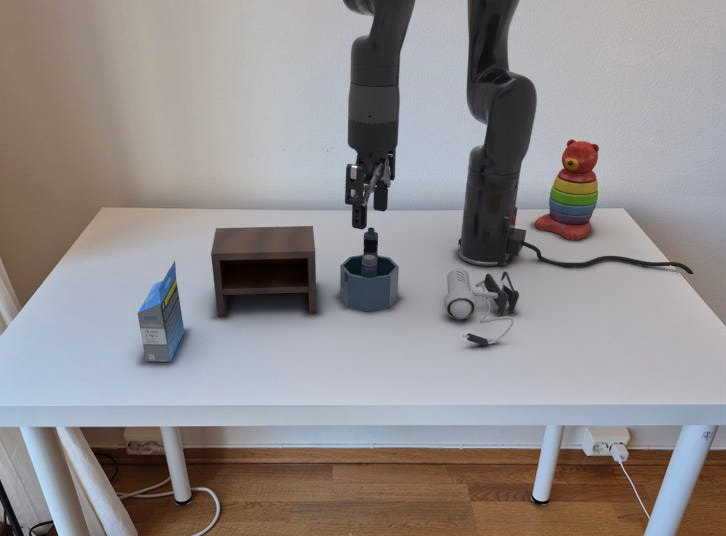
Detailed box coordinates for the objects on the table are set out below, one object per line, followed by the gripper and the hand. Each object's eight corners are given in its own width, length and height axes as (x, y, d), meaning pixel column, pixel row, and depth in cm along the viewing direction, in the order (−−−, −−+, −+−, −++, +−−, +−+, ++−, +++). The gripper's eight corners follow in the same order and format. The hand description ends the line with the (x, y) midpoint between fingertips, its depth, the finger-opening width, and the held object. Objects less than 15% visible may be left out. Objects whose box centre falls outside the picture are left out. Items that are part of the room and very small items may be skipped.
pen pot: (402, 292, 122) (404, 260, 118) (383, 315, 115) (384, 282, 111) (355, 281, 125) (355, 250, 121) (333, 304, 118) (333, 271, 114)
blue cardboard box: (160, 331, 110) (149, 258, 103) (185, 331, 110) (175, 259, 103) (144, 362, 102) (131, 287, 96) (171, 363, 102) (159, 287, 96)
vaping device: (377, 291, 122) (379, 226, 115) (375, 305, 117) (377, 238, 111) (362, 290, 122) (363, 225, 115) (359, 304, 118) (361, 238, 111)
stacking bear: (530, 226, 146) (544, 140, 137) (557, 214, 152) (573, 131, 142) (575, 242, 140) (593, 153, 130) (602, 229, 146) (621, 143, 136)
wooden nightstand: (314, 285, 123) (312, 225, 117) (316, 313, 115) (315, 250, 109) (222, 288, 122) (215, 228, 116) (217, 317, 114) (210, 253, 107)
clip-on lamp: (519, 363, 108) (507, 288, 121) (530, 334, 104) (517, 258, 116) (444, 355, 108) (439, 280, 120) (452, 326, 103) (446, 251, 116)
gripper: (378, 129, 96) (374, 239, 105) (414, 106, 107) (407, 208, 116) (329, 122, 99) (329, 230, 108) (369, 101, 110) (366, 200, 119)
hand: (370, 218), depth 112 cm, fingers open, 8 cm apart
